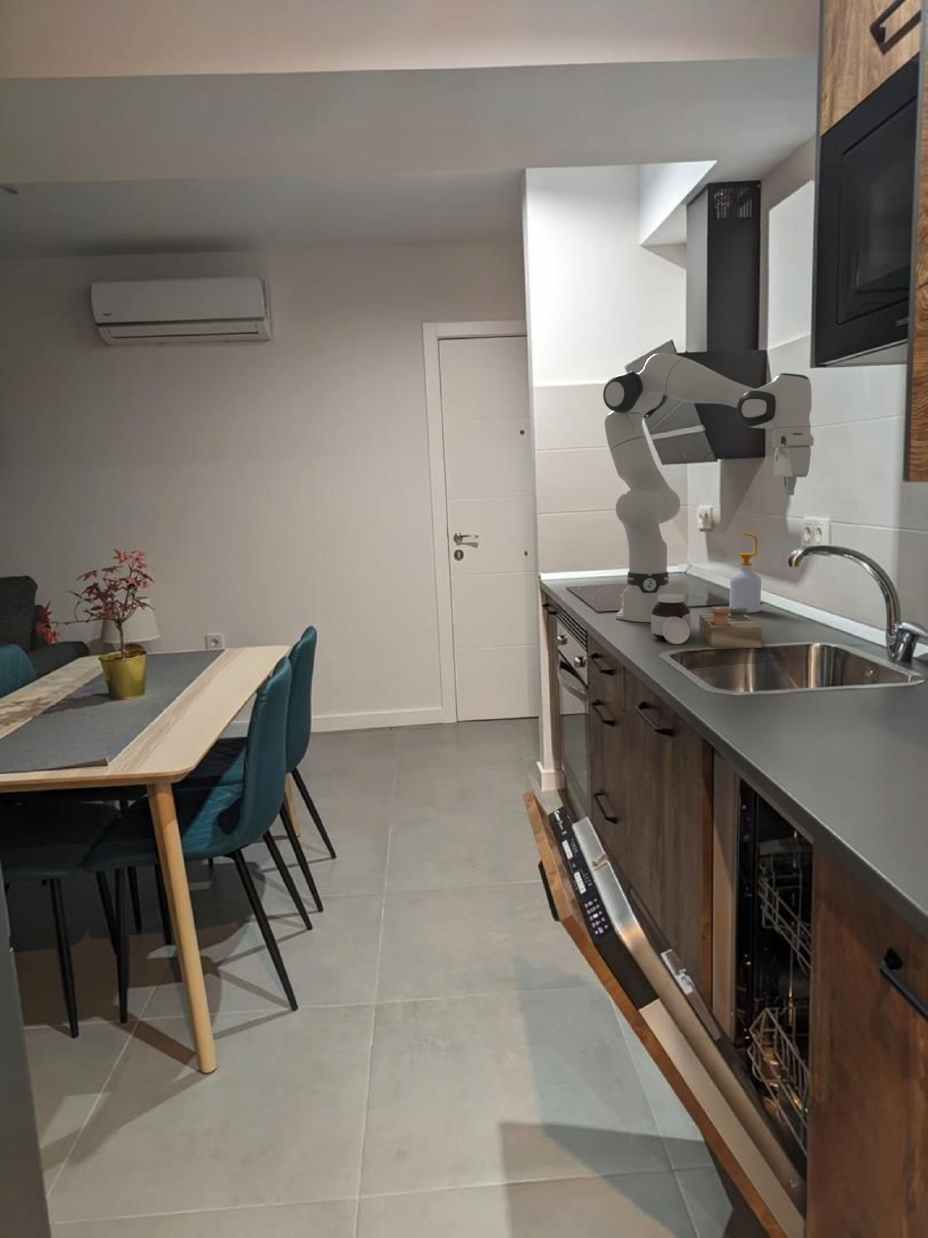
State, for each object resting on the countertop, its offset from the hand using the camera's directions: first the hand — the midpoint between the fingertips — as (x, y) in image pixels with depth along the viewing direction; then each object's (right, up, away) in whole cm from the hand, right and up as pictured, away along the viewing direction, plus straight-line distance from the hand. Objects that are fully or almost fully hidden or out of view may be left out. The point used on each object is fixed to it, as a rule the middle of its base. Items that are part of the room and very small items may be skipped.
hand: (788, 495), depth 214 cm
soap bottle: (+5, -29, +49) cm, 57 cm away
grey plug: (-10, -35, +11) cm, 38 cm away
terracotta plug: (-17, -35, +3) cm, 39 cm away
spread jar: (-27, -37, +8) cm, 47 cm away
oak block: (-13, -37, +7) cm, 40 cm away
